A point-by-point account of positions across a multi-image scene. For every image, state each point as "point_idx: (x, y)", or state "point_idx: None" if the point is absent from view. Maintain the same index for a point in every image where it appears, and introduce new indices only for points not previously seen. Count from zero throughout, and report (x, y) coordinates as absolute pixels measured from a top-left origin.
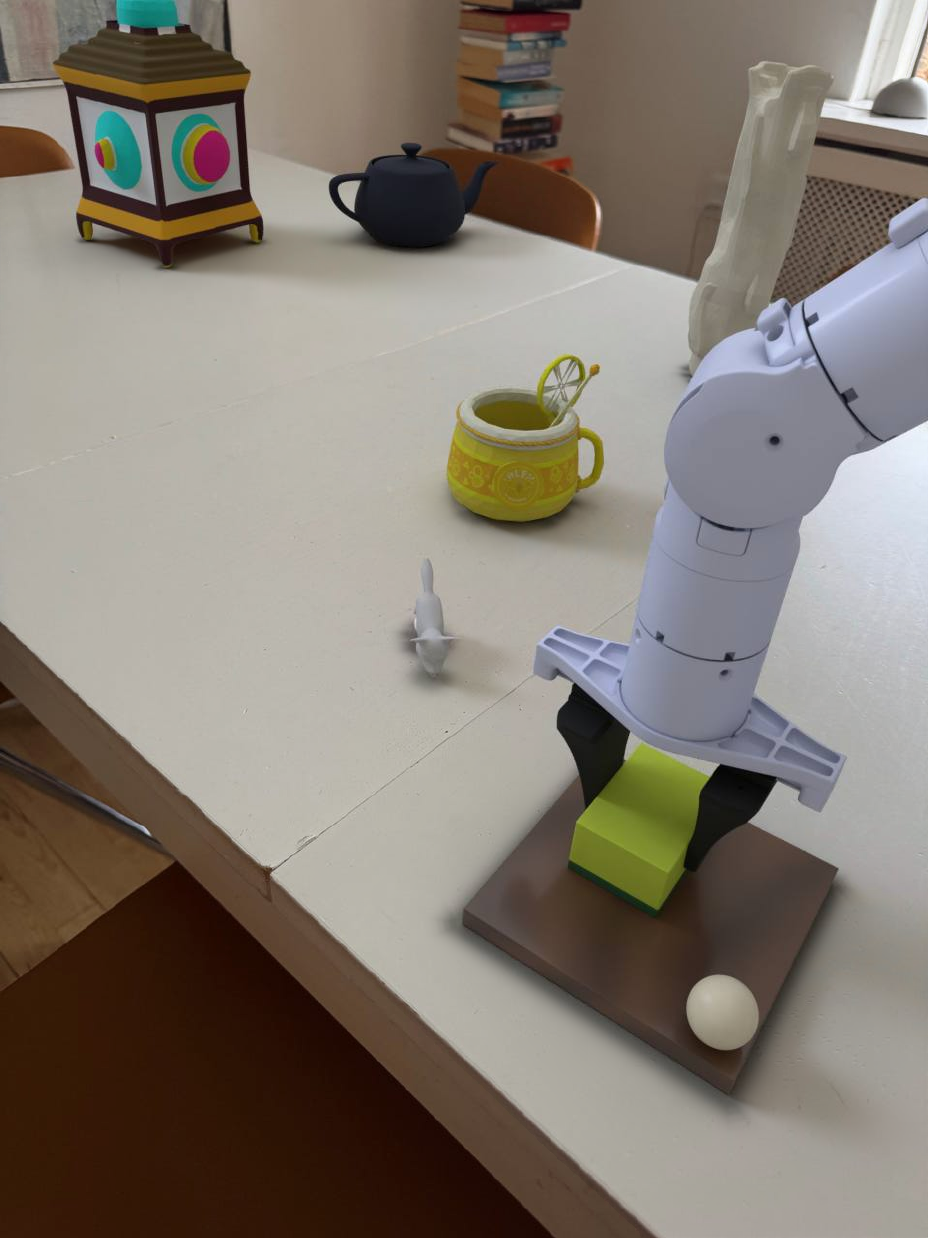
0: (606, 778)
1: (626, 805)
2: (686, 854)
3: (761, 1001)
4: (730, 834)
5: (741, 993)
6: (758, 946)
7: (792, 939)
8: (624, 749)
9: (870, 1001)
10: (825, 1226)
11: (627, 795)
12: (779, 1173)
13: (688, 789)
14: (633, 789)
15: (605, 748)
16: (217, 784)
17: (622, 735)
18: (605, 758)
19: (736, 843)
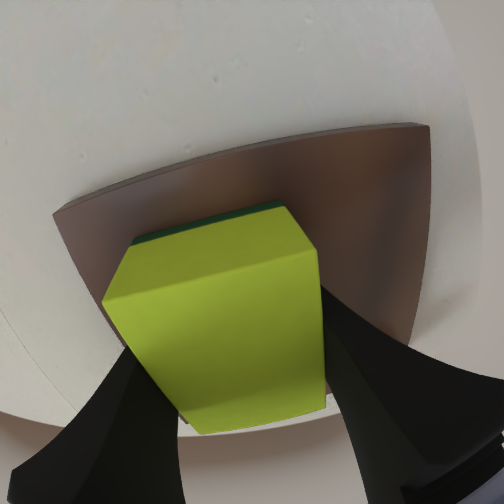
0: (163, 408)
1: (216, 400)
2: None
3: (407, 322)
4: (304, 183)
5: None
6: (395, 289)
7: (418, 257)
8: (129, 391)
9: (460, 226)
10: (441, 348)
11: (202, 393)
12: (423, 352)
13: (262, 323)
14: (196, 381)
15: (172, 495)
16: (34, 414)
17: (137, 455)
18: (168, 467)
19: (320, 192)
